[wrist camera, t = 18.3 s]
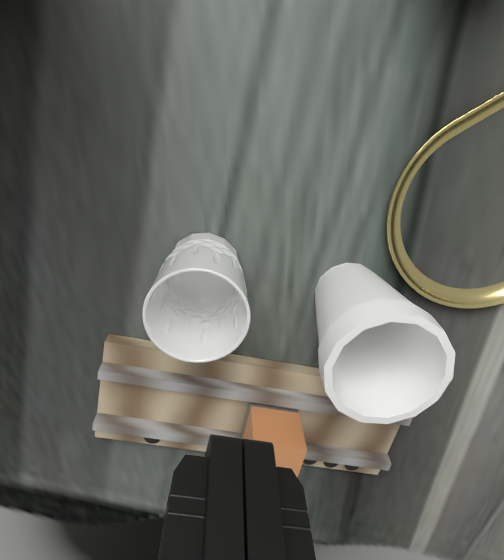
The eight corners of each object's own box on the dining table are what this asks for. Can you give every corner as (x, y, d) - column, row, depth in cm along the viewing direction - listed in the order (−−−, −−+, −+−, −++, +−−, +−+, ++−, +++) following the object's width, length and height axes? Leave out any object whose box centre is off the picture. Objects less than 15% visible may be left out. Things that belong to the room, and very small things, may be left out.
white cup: (216, 317, 44) (212, 379, 35) (145, 276, 42) (122, 330, 33) (263, 256, 42) (271, 305, 33) (191, 208, 40) (179, 247, 31)
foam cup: (322, 233, 41) (359, 296, 29) (411, 264, 43) (480, 335, 31) (284, 319, 45) (303, 406, 33) (367, 345, 46) (414, 436, 35)
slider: (240, 432, 48) (241, 483, 42) (250, 395, 46) (253, 443, 40) (285, 438, 49) (293, 489, 43) (297, 402, 47) (307, 450, 41)
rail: (98, 426, 49) (90, 447, 47) (108, 333, 45) (100, 350, 42) (374, 464, 53) (381, 485, 51) (409, 382, 49) (420, 401, 46)
